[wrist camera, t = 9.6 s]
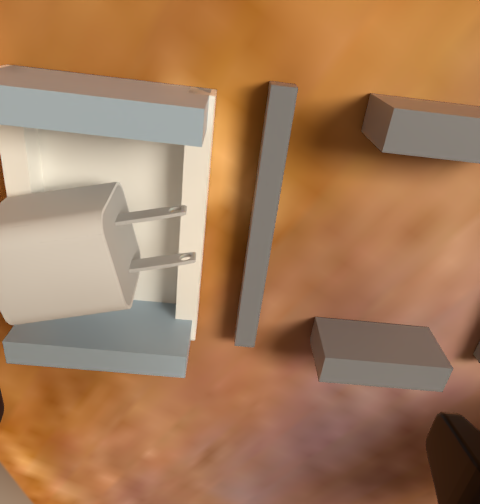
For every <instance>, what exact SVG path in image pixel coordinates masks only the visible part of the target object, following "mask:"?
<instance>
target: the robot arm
mask: <svg viewBox="0 0 480 504" xmlns="http://www.w3.org/2000/svg"><path fill="white" fill-rule="evenodd" d="M3 413H4V403H3V398H2V394H1V390H0V422H1V419H2V417H3ZM426 451H427V456H428V460H429V464H430V469H431V473H432V478H433V482H434V486H435V491H436V495H437V499H438V504H480V431H479V430H478V429H477V428H476V427H474V426H473V425H472V424H471V423H470V422H469V421H468V420H467V419H465V418H464V417H463V416H462V415H460V414H457V413H447V412H440V413H439V414H437V416H436V418H435V420H434V422H433V424H432V427H431V429H430V431H429V433H428V436H427V438H426Z"/></svg>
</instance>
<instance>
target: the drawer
mask: <svg viewBox="0 0 480 504" xmlns="http://www.w3.org/2000/svg"><path fill="white" fill-rule="evenodd" d="M216 94H217V90H216V89H207V88H199V87H191V86H182V85H174V84H166V83H157V82H149V81H141V80H133V79H124V78H116V77H108V76H99V75H91V74H83V73H74V72H66V71H58V70H49V69H41V68H33V67H24V66H16V65H8V64H7V65H3V66H0V155H1V161H2V168H3V174H4V181H5V187H6V194H7V197H12V196H19V195H27V194H34V193H41V192H48V191H55V190H62V189H69V188H76V187H83V186H91V185H98V184H105V183H112V182H119V183H120V184H121V186H122V188H123V190H124V194H125V197H126V201H127V205H128V208H129V212H135V211H142V210H149V209H156V208H163V207H172V206H181V205H186V206H187V211H186V215H183V216H178V217H172V218H166V219H160V220H153V221H146V222H138V223H133V227H134V230H135V234H136V238H137V241H138V245H139V249H140V254H141V259H142V258H149V257H156V256H163V255H170V254H179V253H189V252H196V262H195V263H191V264H185V265H180V266H174V267H167V268H160V269H153V270H146V271H140V275H139V279H138V283H137V287H136V291H135V295H134V299H133V303H132V307H131V308H130V309H126V310H118V311H111V312H104V313H97V314H90V315H83V316H76V317H69V318H61V319H54V320H47V321H40V322H33V323H26V324H19V325H14V326H13V327H12V329H11V330H10V332H9V333H8V334H7V336H6V337H5V339H4V340H3V341H2V342H3V347H4V353H5V358H6V363H10V364H22V365H34V366H46V367H59V368H71V369H83V370H95V371H107V372H119V373H132V374H144V375H156V376H168V377H180V378H185V375H186V369H187V362H188V355H189V348H190V342H191V340H195V335H196V328H197V320H198V308H199V296H200V285H201V273H202V261H203V249H204V237H205V225H206V213H207V201H208V189H209V177H210V165H211V153H212V142H213V130H214V118H215V106H216ZM178 211H180V210H177V211H173V212H178ZM173 212H172V213H173ZM190 258H191V257H184V258H182V259H181V260H188V259H190Z"/></svg>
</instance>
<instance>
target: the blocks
mask: <svg viewBox="0 0 480 504" xmlns="http://www.w3.org/2000/svg"><path fill="white" fill-rule="evenodd" d="M297 91H298V87H297V86H296V85H295V84H291V83H283V82H274V81H269V89H268V96H267V103H266V110H265V118H264V125H263V132H262V139H261V147H260V154H259V161H258V168H257V176H256V183H255V190H254V197H253V205H252V212H251V219H250V226H249V234H248V241H247V248H246V255H245V263H244V270H243V277H242V284H241V291H240V299H239V306H238V313H237V320H236V328H235V346H244V347H254V346H255V340H256V334H257V328H258V322H259V316H260V310H261V304H262V299H263V293H264V287H265V281H266V275H267V269H268V263H269V257H270V251H271V245H272V239H273V233H274V228H275V222H276V216H277V210H278V204H279V198H280V192H281V186H282V180H283V174H284V168H285V162H286V157H287V151H288V145H289V139H290V133H291V127H292V121H293V115H294V109H295V103H296V97H297ZM361 132H362V133H363V134H364V135H365V136H366V137H367V138H368V139H369V140H370V141H371V142H372V143H373V144H374V145H375V146H376V147H377V148H378V149H379V150H380V151H381V152H384V153H393V154H402V155H410V156H419V157H428V158H437V159H445V160H454V161H463V162H472V163H480V107H479V106H471V105H463V104H455V103H447V102H438V101H430V100H422V99H414V98H406V97H397V96H389V95H381V94H373V93H370V97H369V101H368V105H367V109H366V113H365V117H364V121H363V125H362V130H361ZM310 343H311V348H312V352H313V357H314V362H315V366H316V371H317V375H318V380H319V382H329V383H341V384H353V385H365V386H377V387H389V388H401V389H413V390H425V391H437V392H443V390H444V387H445V385H446V383H447V381H448V379H449V377H450V375H451V372H452V370H453V367H452V366H451V364H450V362H449V361H448V359H447V357H446V356H445V354H444V352H443V351H442V349H441V347H440V346H439V344H438V342H437V341H436V339H435V337H434V336H433V334H432V332H431V331H430V329H429V327H419V326H408V325H397V324H386V323H375V322H365V321H354V320H343V319H332V318H321V317H315V320H314V324H313V328H312V333H311V337H310ZM474 356H475V357H476V359H477V360H478V362H479V363H480V341H479V343H478V345H477V347H476V350H475V352H474Z"/></svg>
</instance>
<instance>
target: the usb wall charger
mask: <svg viewBox="0 0 480 504" xmlns="http://www.w3.org/2000/svg"><path fill="white" fill-rule="evenodd" d="M177 210H180V211H178V212H173V211H177ZM186 211H187V206H186V205H181V206H172V207H163V208H156V209H149V210H142V211H135V212H129V208H128V205H127V201H126V197H125V194H124V190H123V188H122V186H121V184H120V183H119V182H112V183H105V184H98V185H91V186H83V187H76V188H69V189H62V190H55V191H48V192H41V193H34V194H27V195H19V196H12V197H7V198H5V199H4V200H3V201H2V202H1V203H0V311H1V313H2V315H3V317H4V319H5V321H6V322H7V323H8V324H10V325H19V324H26V323H33V322H40V321H47V320H54V319H61V318H69V317H76V316H83V315H90V314H97V313H104V312H111V311H118V310H126V309H130V308H131V307H132V303H133V299H134V295H135V291H136V287H137V283H138V279H139V275H140V271H146V270H153V269H160V268H167V267H174V266H180V265H185V264H191V263H195V262H196V252H189V253H179V254H170V255H163V256H156V257H149V258H142V259H141V254H140V249H139V245H138V241H137V238H136V234H135V230H134V227H133V223H138V222H146V221H153V220H160V219H166V218H172V217H178V216H183V215H186ZM172 212H173V213H172ZM184 257H191V258H190V259H188V260H181V259H182V258H184Z"/></svg>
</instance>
